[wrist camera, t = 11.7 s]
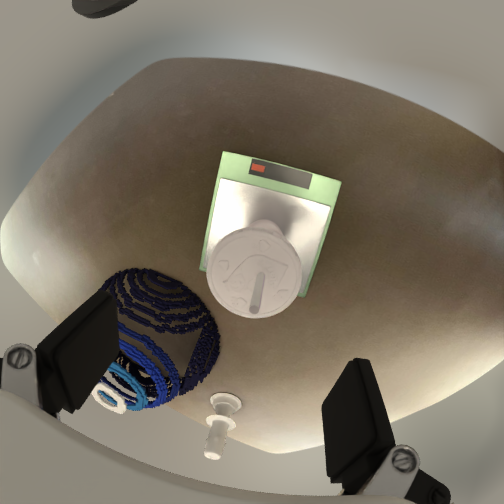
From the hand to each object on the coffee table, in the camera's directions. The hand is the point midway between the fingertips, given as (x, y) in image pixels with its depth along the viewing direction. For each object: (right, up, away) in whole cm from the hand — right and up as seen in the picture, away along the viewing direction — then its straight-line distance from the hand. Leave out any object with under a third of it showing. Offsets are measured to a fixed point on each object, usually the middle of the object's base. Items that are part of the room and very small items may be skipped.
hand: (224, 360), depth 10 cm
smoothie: (+2, +6, +17) cm, 18 cm away
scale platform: (+2, +6, +18) cm, 19 cm away
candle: (-3, -21, +31) cm, 38 cm away
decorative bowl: (-13, -8, +28) cm, 32 cm away
